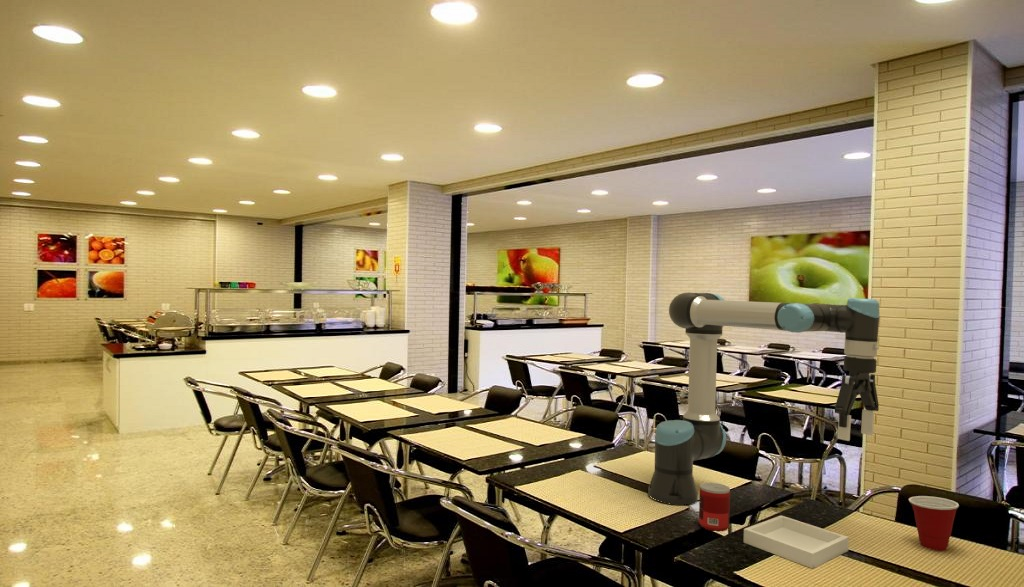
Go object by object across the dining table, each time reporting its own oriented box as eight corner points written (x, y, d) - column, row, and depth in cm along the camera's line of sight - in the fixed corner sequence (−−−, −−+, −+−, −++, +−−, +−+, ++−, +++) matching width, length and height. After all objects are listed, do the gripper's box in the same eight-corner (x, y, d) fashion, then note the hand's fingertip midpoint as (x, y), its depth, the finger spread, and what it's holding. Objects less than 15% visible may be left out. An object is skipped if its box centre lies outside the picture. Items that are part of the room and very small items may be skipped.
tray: (743, 542, 158) (743, 528, 158) (780, 527, 169) (781, 515, 169) (812, 568, 144) (812, 553, 144) (848, 550, 155) (848, 537, 155)
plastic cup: (910, 534, 166) (911, 490, 167) (959, 545, 160) (960, 500, 160) (904, 546, 158) (905, 500, 158) (956, 559, 151) (957, 510, 151)
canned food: (735, 530, 167) (736, 489, 167) (710, 533, 164) (711, 492, 164) (716, 520, 174) (717, 481, 174) (693, 523, 171) (694, 483, 171)
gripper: (853, 359, 151) (848, 445, 151) (895, 357, 166) (890, 435, 166) (822, 356, 157) (818, 438, 157) (866, 354, 172) (861, 429, 172)
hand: (855, 437), depth 161 cm, fingers open, 13 cm apart
